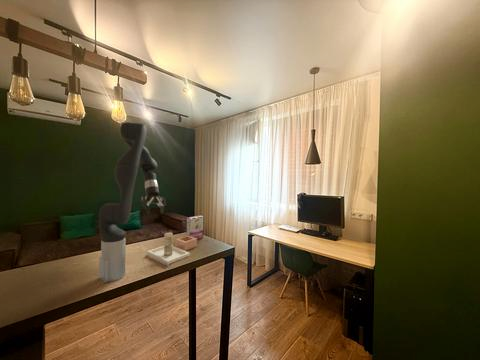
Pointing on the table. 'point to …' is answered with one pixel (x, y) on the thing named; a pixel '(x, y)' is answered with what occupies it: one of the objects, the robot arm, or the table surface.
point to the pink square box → (186, 242)
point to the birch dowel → (168, 244)
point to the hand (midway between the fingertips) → (155, 212)
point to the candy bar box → (195, 226)
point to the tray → (166, 260)
